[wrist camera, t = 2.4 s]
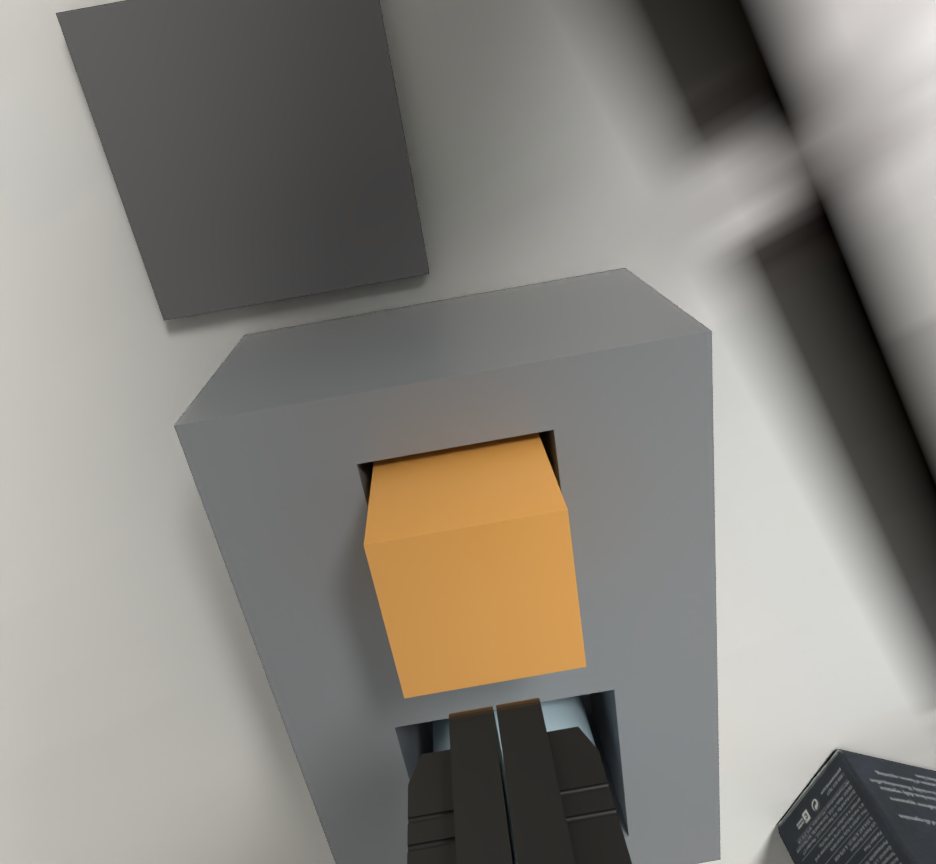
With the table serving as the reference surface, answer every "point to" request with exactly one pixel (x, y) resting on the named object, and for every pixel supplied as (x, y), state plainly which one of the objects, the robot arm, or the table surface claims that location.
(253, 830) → the table surface
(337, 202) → the mat
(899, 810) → the box
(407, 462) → the orange rectangular block
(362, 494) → the housing
